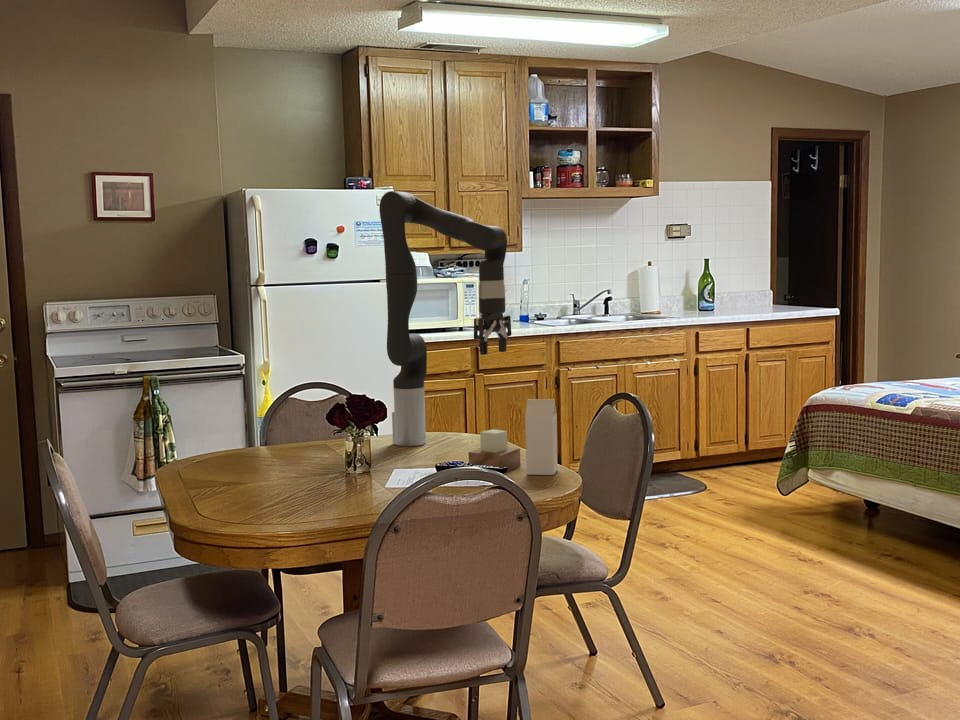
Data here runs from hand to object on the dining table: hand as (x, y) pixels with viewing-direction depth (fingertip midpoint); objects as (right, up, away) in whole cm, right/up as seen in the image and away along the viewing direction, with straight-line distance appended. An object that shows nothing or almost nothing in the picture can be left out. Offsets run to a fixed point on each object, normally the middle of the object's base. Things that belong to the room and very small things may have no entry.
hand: (493, 353), depth 287 cm
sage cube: (0, -26, -22) cm, 34 cm away
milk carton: (+12, -31, -29) cm, 44 cm away
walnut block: (0, -31, -21) cm, 37 cm away
